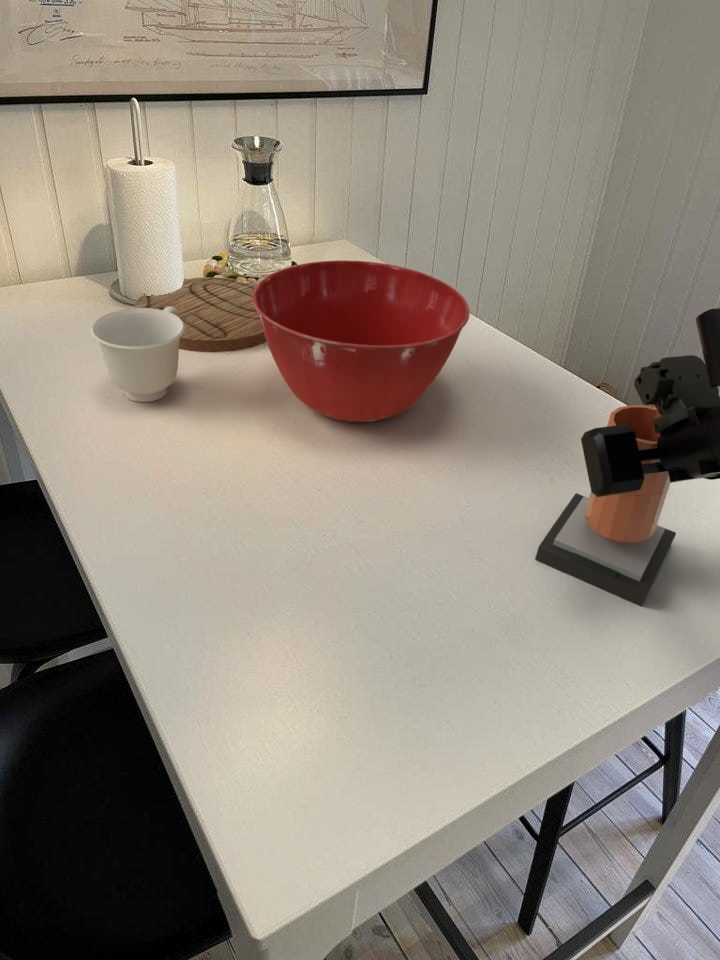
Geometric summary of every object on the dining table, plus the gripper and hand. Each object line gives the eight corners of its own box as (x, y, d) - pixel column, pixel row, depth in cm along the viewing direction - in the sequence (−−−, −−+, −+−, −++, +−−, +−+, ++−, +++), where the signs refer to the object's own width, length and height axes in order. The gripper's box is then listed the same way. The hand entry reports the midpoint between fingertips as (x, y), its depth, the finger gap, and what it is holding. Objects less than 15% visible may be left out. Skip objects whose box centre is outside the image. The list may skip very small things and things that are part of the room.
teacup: (215, 374, 111) (212, 311, 105) (158, 423, 99) (151, 355, 93) (145, 356, 114) (138, 293, 108) (82, 401, 102) (70, 333, 96)
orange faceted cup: (662, 547, 79) (697, 444, 72) (593, 546, 79) (621, 443, 71) (641, 504, 85) (671, 405, 77) (577, 504, 85) (601, 404, 77)
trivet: (211, 367, 112) (211, 356, 111) (103, 316, 123) (101, 305, 122) (317, 317, 129) (318, 307, 128) (213, 276, 140) (213, 266, 139)
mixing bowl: (294, 339, 122) (296, 245, 113) (468, 373, 117) (484, 277, 107) (221, 427, 100) (216, 319, 91) (431, 473, 95) (448, 364, 85)
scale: (670, 545, 87) (678, 527, 85) (642, 607, 78) (650, 588, 77) (571, 505, 91) (577, 487, 90) (534, 559, 83) (540, 540, 81)
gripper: (798, 337, 68) (683, 385, 83) (620, 353, 63) (532, 401, 78) (826, 458, 67) (704, 484, 81) (648, 484, 61) (552, 507, 76)
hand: (625, 467), depth 79 cm, fingers closed on orange faceted cup, 7 cm apart
